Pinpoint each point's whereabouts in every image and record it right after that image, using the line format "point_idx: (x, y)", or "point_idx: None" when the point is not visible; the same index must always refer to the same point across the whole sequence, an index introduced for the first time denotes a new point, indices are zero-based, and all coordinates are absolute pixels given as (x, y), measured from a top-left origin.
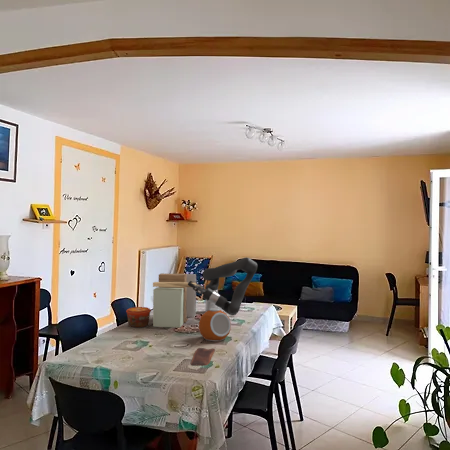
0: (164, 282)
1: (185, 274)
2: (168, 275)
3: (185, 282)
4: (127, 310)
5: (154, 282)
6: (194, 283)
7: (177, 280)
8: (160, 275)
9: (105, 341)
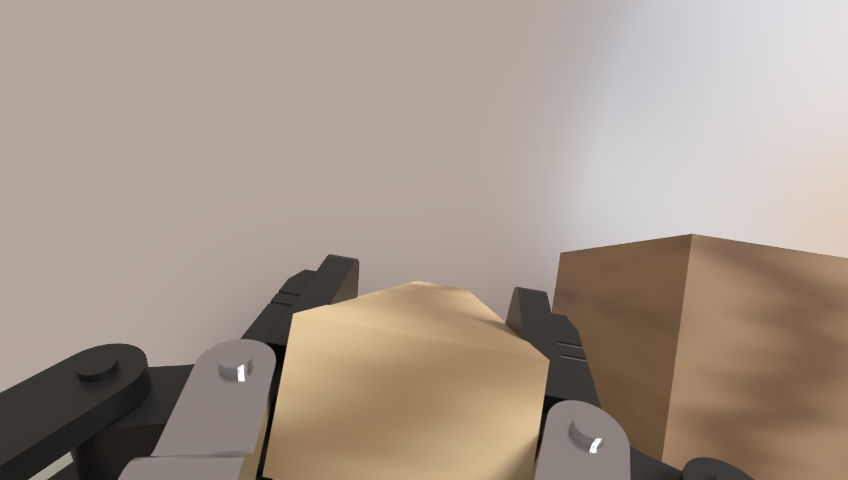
0: (446, 289)
1: (818, 255)
2: (589, 254)
3: (494, 314)
4: None
5: (437, 284)
6: (319, 314)
7: (621, 319)
8: (563, 258)
9: (68, 454)
